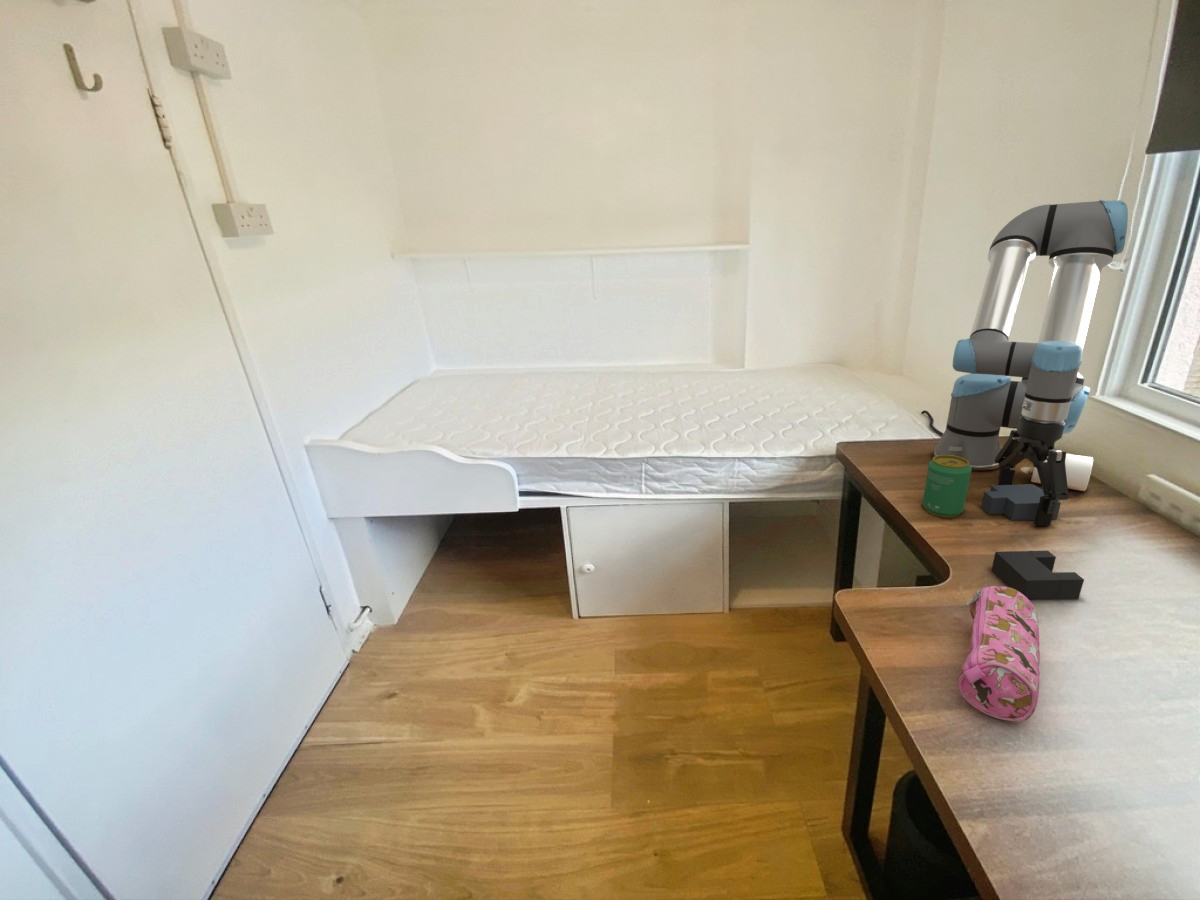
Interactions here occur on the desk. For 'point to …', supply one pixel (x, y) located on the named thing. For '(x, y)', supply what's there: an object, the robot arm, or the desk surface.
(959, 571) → the desk surface
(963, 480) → the beverage can
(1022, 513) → the grey block
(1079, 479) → the white cylinder on side
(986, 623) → the pencil case
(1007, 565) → the black u-shaped block
